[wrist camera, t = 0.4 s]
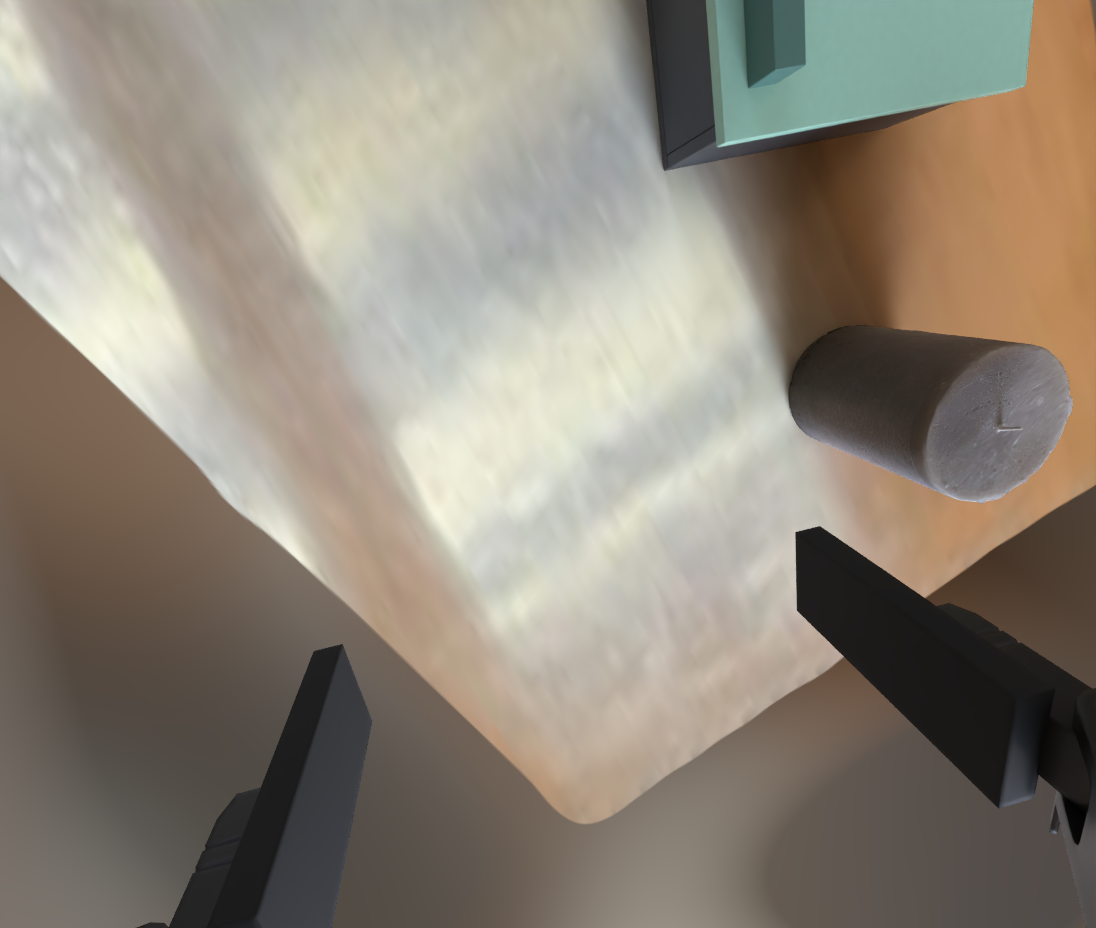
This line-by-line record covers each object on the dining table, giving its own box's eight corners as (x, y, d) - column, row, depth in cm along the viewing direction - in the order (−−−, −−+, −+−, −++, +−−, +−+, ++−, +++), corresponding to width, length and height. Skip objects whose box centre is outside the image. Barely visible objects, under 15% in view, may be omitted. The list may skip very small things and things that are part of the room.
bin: (637, -80, 32) (698, -204, 24) (890, -118, 34) (1030, -248, 25) (663, 170, 37) (722, 138, 29) (885, 128, 38) (1001, 85, 30)
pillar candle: (777, 351, 42) (934, 384, 28) (890, 306, 43) (1101, 317, 29) (799, 459, 46) (949, 537, 32) (903, 417, 46) (1098, 476, 32)
